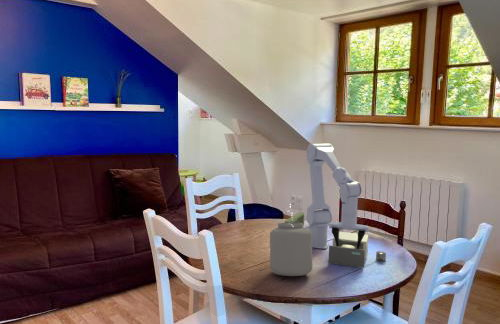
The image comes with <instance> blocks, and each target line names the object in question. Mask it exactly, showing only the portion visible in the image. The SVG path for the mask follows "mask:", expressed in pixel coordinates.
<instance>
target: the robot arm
mask: <svg viewBox="0 0 500 324" xmlns="http://www.w3.org/2000/svg"><path fill="white" fill-rule="evenodd" d="M306 160H307V161H306V162H307V164H308V166H309V175H310V176H309V177H310V188H311V201H312V203H311V204H310V205H309V206H308V207H307V208H306V211H307V212H306V222H307V224H306V225H305V227H304V228H307V229H308V230H310V231H311V233H312V249H313V248H314V249H315V248H316V249H322V250H326V249H327V248H329V246H330V242H328V230H329V229H331V233H332V236H333V237H334V238H335V242H336V246H338V247H339V232H340V231H341V230H347V231H354V232H355V231H356V232H357V234H358V244H357V249H359V247H360V243H361V241H362V239H363V237H364V235H365V234H366V233H369V225H364V224H358V223H357V221H358V218H357V217H358V200H359V197H360V196H361V195H362V187H361V183H360V182H358V181H356V179H353V178H352V177H351V175H350V173H349V172H348V171H347V169H346V168H345V167H341V165H340V163H339V162H338V159H337V157H336V155H335V148H334V147H333V144H331V143H330V142H327V143H309V145H308V146H307V148H306ZM325 163H326V165H327V166H328V167H329V168H330V170H331V171H332V178H333V179H334V181H335V183H336V184H337V186H338V187H339V188H338V189H339V190H338V192H339V195H340V196H339V197H340V202H341V217H340V218H341V219H340V221H339V222H333V221H332V220H333V213H332V211H331V207H330V205H329V204H327V203H326V201H325V191H324V187H325V186H324V178H323V176H324V175H323V164H325ZM328 228H329V229H328Z"/></svg>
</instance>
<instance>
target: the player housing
mask: <svg viewBox="0 0 500 324" xmlns="http://www.w3.org/2000/svg"><path fill="white" fill-rule="evenodd" d="M357 244H358V232H357V233H355V232H348V231H347V232H346V231H339V247H341V246H342V245H352V246H354V247H355V249H357ZM332 246H336V242H335V238H334V236H333V237H332ZM368 248H369V234H367V233H365V235H364V237H363V239H362V241H361V243H360V247H359V249H364V250H365V258H364V261H366V260H367V257H368V251H369V249H368Z"/></svg>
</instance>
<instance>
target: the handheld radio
mask: <svg viewBox="0 0 500 324" xmlns="http://www.w3.org/2000/svg"><path fill="white" fill-rule="evenodd" d="M284 223H303V226H305V212H302V211H301V212H299V213H297V214H295V215H292V216H291V217H289V218H287V219H286V220H284Z"/></svg>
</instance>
